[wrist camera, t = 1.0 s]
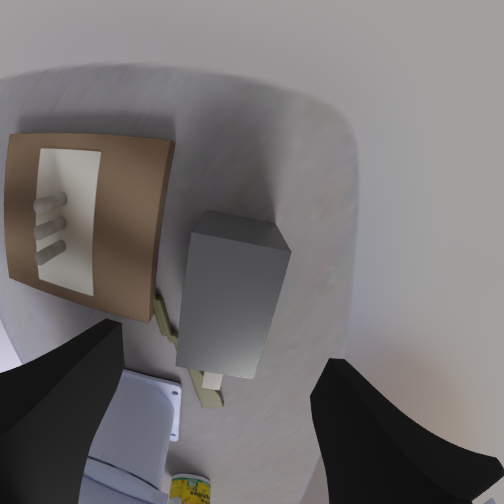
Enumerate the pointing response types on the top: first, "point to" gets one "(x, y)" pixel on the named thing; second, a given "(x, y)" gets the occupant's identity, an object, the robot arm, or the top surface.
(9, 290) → the top surface
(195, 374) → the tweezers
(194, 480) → the supplement bottle
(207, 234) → the block
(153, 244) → the pin board
